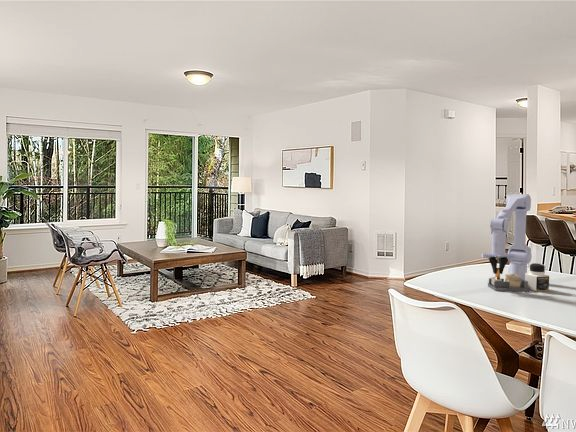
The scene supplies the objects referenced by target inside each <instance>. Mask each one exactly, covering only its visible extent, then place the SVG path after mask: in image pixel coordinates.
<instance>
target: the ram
mask: <svg viewBox="0 0 576 432" xmlns="http://www.w3.org/2000/svg"><path fill="white" fill-rule="evenodd" d="M494 275H495V276H494V277H493V276H492V277H490V278H491V284H492V285H494V281H502V279H503V278H501V274H500V268H499V267H497V273H496V274H494Z"/></svg>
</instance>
